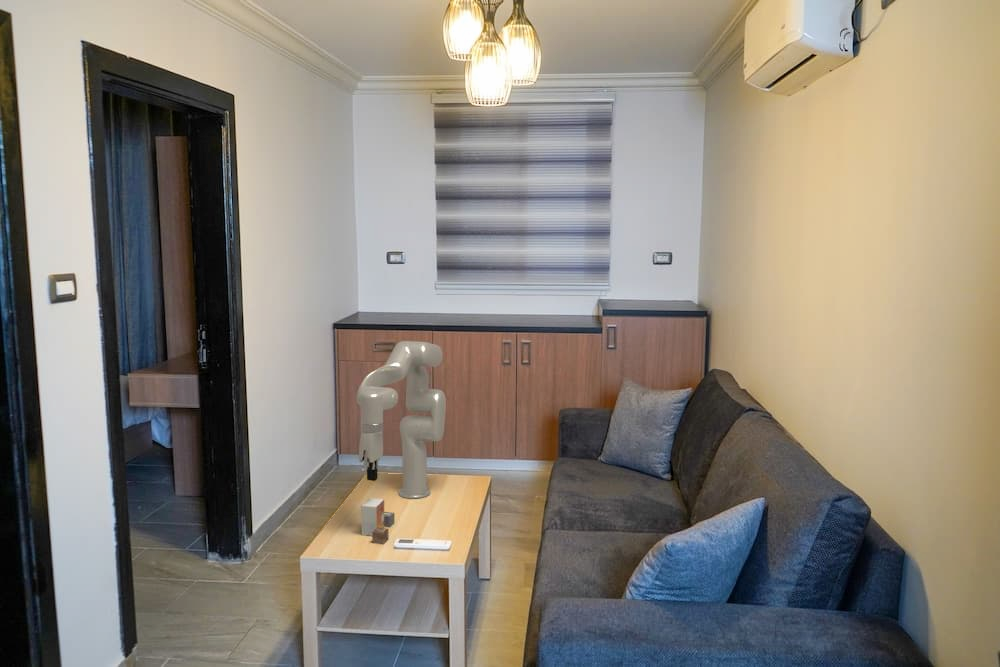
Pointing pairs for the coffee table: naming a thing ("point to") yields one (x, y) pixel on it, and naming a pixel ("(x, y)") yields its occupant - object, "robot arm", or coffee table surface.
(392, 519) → the digit one block
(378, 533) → the digit seven block
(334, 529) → the coffee table surface
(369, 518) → the small box
